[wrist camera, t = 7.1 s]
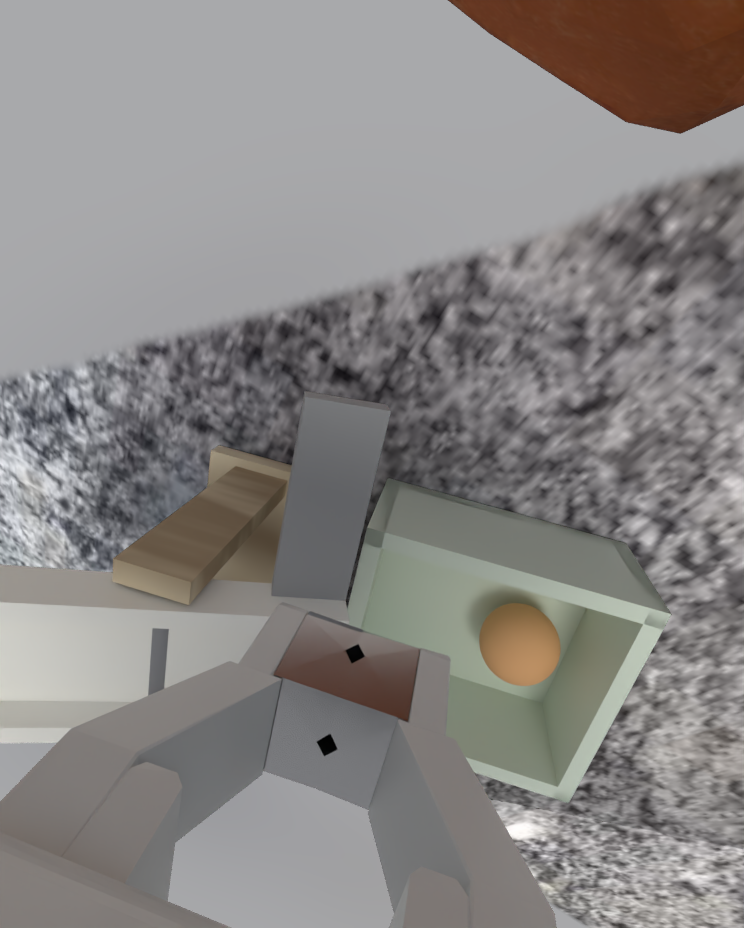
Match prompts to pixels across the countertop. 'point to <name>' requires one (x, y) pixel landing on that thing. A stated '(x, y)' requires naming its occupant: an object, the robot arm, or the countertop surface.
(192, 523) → the lever base
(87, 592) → the lever
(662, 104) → the bread
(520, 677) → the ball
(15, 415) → the countertop surface
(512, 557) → the bin
